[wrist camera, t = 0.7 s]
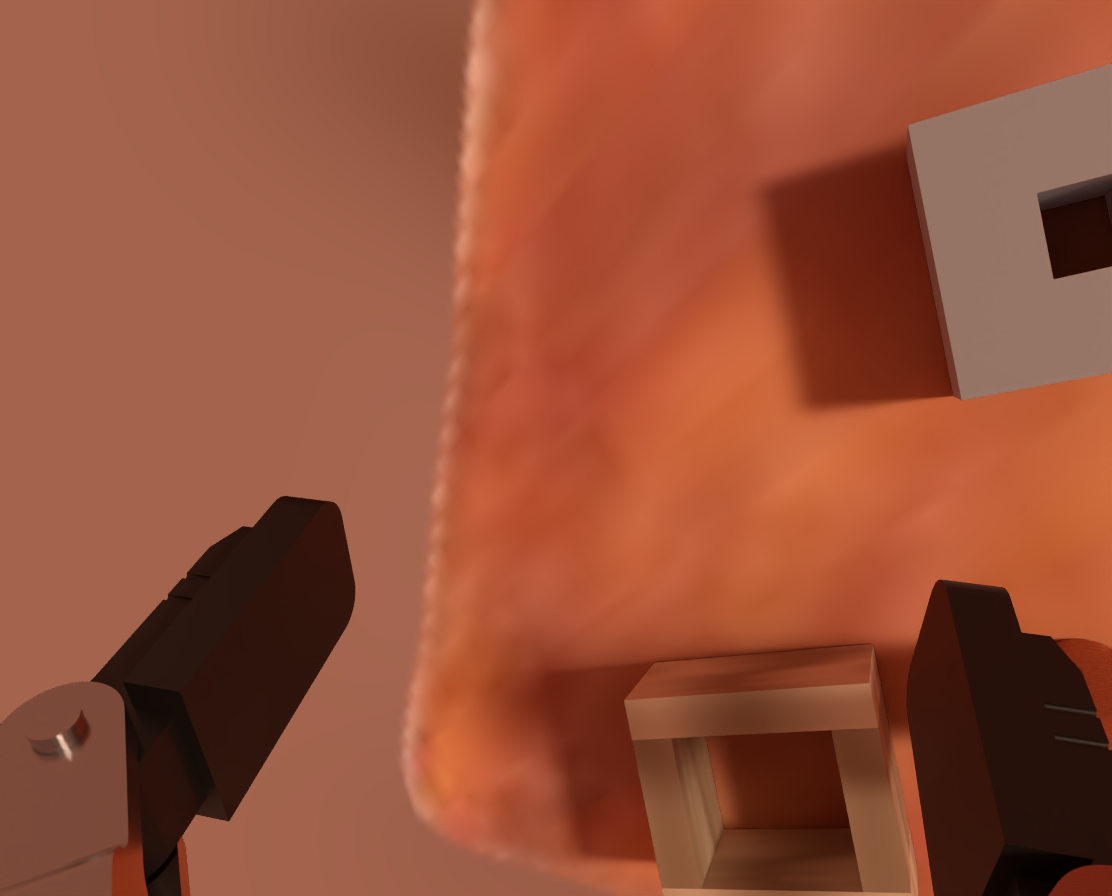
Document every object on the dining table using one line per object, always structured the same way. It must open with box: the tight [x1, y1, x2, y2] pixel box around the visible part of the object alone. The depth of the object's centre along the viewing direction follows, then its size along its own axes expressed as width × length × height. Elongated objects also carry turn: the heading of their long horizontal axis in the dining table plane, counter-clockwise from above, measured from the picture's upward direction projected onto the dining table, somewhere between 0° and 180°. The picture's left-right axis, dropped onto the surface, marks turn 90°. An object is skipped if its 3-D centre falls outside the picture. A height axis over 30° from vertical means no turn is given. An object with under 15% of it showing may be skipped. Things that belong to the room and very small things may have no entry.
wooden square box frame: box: [624, 644, 918, 896], centre depth 29 cm, size 8×8×4 cm
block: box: [906, 64, 1112, 400], centre depth 25 cm, size 8×8×4 cm
